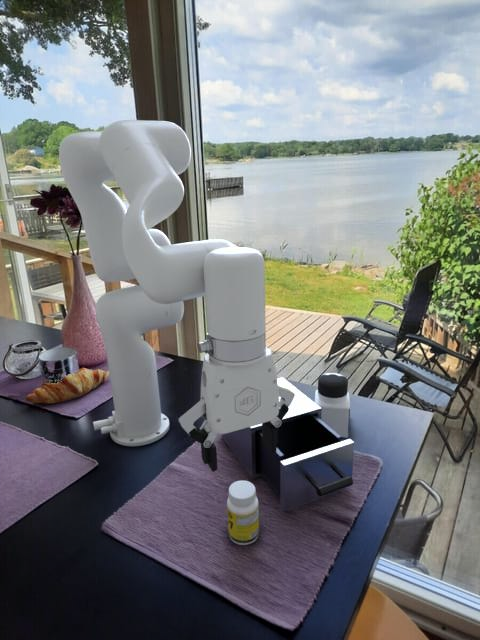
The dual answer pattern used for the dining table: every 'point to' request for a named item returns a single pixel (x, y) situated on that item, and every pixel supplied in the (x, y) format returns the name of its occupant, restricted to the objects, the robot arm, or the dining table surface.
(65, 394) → the croissant
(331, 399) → the medicine bottle
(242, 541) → the supplement bottle
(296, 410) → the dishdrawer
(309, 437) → the drawer
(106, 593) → the dining table surface
